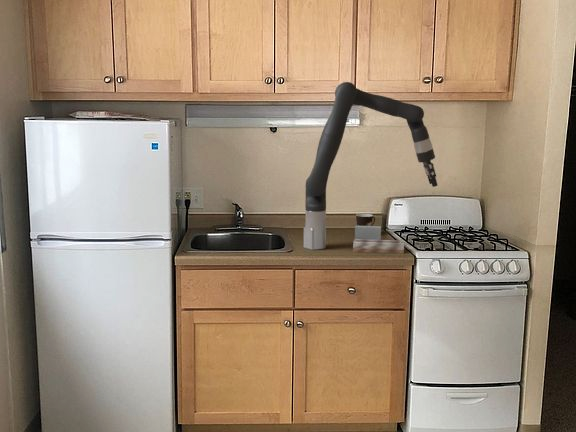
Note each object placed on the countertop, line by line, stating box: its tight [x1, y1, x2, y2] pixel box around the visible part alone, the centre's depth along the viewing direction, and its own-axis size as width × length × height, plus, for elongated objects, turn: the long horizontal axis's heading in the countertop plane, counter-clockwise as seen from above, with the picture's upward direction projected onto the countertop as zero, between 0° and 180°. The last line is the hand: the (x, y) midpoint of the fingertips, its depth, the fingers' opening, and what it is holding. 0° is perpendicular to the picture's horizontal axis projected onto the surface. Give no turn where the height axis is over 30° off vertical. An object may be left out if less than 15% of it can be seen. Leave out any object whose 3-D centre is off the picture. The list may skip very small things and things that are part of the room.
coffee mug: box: [355, 213, 376, 226], centre depth 290 cm, size 12×9×10 cm
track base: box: [352, 238, 405, 254], centre depth 255 cm, size 22×9×4 cm, turn 80°
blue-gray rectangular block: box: [354, 225, 382, 240], centre depth 271 cm, size 12×4×8 cm, turn 80°
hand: (433, 184), depth 256 cm, fingers open, 8 cm apart
